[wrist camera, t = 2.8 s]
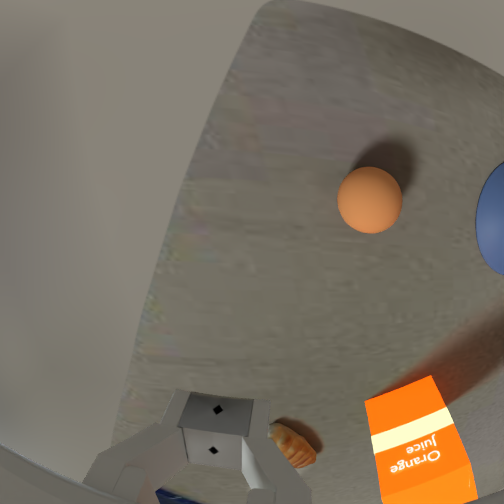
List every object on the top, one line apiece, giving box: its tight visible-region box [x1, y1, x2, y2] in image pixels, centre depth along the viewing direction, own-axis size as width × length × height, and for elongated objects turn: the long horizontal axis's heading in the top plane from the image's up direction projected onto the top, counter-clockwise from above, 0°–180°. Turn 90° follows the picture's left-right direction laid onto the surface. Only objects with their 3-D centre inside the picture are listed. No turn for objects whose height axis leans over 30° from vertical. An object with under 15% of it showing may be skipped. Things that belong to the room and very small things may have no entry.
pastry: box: [267, 423, 316, 468], centre depth 36 cm, size 9×7×4 cm
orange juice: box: [365, 375, 478, 504], centre depth 25 cm, size 8×9×20 cm
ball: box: [337, 167, 402, 233], centre depth 25 cm, size 6×6×6 cm
